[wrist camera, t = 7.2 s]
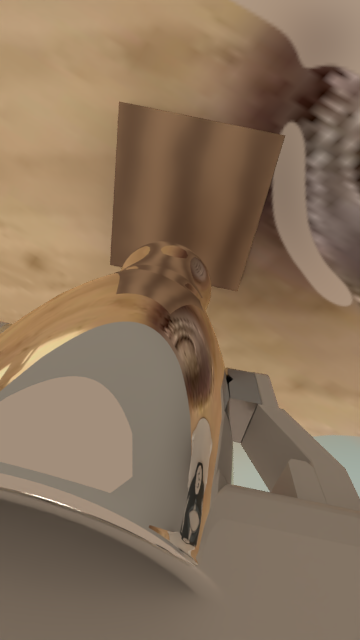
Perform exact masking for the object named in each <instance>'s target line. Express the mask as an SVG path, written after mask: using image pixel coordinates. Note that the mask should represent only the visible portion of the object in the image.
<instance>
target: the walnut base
mask: <svg viewBox="0 0 360 640" xmlns="http://www.w3.org/2000/svg"><path fill="white" fill-rule="evenodd" d="M284 138H285V136H284V135H280V134H275V133H270V132H265V131H260V130H255V129H250V128H245V127H241V126H236V125H231V124H226V123H221V122H216V121H211V120H206V119H201V118H197V117H192V116H187V115H182V114H177V113H172V112H167V111H162V110H158V109H153V108H148V107H143V106H138V105H133V104H128V103H123V102H119V114H118V132H117V150H116V168H115V186H114V204H113V222H112V241H111V259H110V265H114V266H119V267H122V266H123V264H124V262H125V261H126V259H127V258H128V257H129V256H130V255H131V254H132V253H133V252H134V251H135V250H137V249H138V248H140V247H141V246H143V245H146V244H148V243H152V242H158V241H167V242H173V243H177V244H180V245H182V246H184V247H186V248H188V249H190V250H191V251H192V252H194V253H195V254H196V255H197V256H198V257H199V258H200V259H201V260H202V262H203V263H204V264H205V266H206V268H207V270H208V273H209V275H210V279H211V286H214V287H219V288H224V289H229V290H233V291H238V288H239V285H240V281H241V278H242V275H243V272H244V268H245V265H246V262H247V259H248V255H249V252H250V249H251V246H252V242H253V239H254V236H255V233H256V229H257V226H258V223H259V219H260V216H261V213H262V210H263V206H264V203H265V200H266V197H267V193H268V190H269V187H270V184H271V180H272V177H273V174H274V171H275V167H276V164H277V161H278V158H279V154H280V151H281V148H282V144H283V141H284Z"/></svg>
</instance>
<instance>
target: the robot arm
mask: <svg viewBox="0 0 360 640" xmlns="http://www.w3.org/2000/svg"><path fill="white" fill-rule="evenodd" d="M11 325H12V324H9V323H6V322H1V321H0V333H2V332H3V331H4V330H6V329H7V328H8V327H10V326H11ZM225 370H226V377H227V384H228V390H229V397H230V405H231V421H232V438H233V441H234V442H238V443H241V445H242V447H243V449H244V450H245V452H246V453H247V455H248V457H249V458H250V460H251V462H252V463H253V465H254V466H255V468H256V470H257V471H258V473H259V474H260V476H261V478H262V479H263V481H264V483H265V484H266V486H267V487H268V489H269V490H270V492H265V491H260V490H256V489H250V488H246V487H241V486H236V485H231V484H228V485H227V487H226V492H225V500H224V508H223V516H222V579H223V587H224V592H225V595H224V598H223V600H222V601H220V602H210V601H206V600H204V599H202V598H200V597H198V596H197V595H195V594H194V592H193V591H192V590H191V589H190V588H188V587H187V586H186V585H185V584H184V583H183V582H182V581H181V580H179V579H178V578H177V577H176V576H174V575H173V574H172V573H170V572H169V571H168V570H166V569H165V568H163V567H162V566H160V565H159V564H157V563H156V562H154V561H153V560H151V559H149V558H148V557H146V556H145V555H143V554H141V553H139V552H137V551H136V550H134V549H132V548H130V547H128V546H126V545H124V544H123V543H121V542H118V541H116V540H114V539H112V538H110V537H108V536H106V535H104V534H101V533H99V532H97V531H95V530H92V529H90V528H88V527H85V526H83V525H80V524H78V523H75V522H72V521H70V520H67V519H64V518H61V517H58V516H55V515H52V514H49V513H46V512H43V511H40V510H37V509H33V508H30V507H26V506H23V505H19V504H15V503H11V502H7V501H3V500H0V640H360V499H359V496H358V494H357V492H356V490H355V488H354V486H353V484H352V482H351V479H350V477H349V475H348V473H347V471H346V469H345V468H344V467H343V466H342V465H341V464H340V463H339V462H338V461H337V460H336V459H335V458H334V457H333V456H332V455H331V454H330V453H328V452H327V451H326V450H325V449H324V448H323V447H322V446H321V445H320V444H319V443H318V442H317V441H316V440H315V439H314V438H313V437H312V436H311V435H310V434H309V433H308V432H307V431H306V430H305V429H303V428H302V427H301V426H300V425H299V424H298V423H297V422H296V421H295V420H294V419H293V418H292V417H291V416H290V415H289V414H288V413H287V412H286V411H285V410H284V409H280V408H279V406H278V403H277V400H276V397H275V394H274V390H273V387H272V384H271V381H270V378H269V376H268V375H266V374H260V373H254V372H253V373H252V372H247V371H242V370H236V369H231V368H225Z"/></svg>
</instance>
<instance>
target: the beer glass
mask: <svg viewBox="0 0 360 640" xmlns="http://www.w3.org/2000/svg"><path fill="white" fill-rule="evenodd" d="M210 298H211V279H210V275H209V273H208V270H207V268H206V266H205V264H204V263H203V262H202V260H201V259H200V258H199V257H198V256H197V255H196V254H195V253H194V252H192V251H191V250H190V249H188V248H186V247H184V246H182V245H180V244H177V243H173V242H167V241H158V242H152V243H148V244H146V245H143V246H141V247H140V248H138V249H137V250H135V251H134V252H133V253H132V254H131V255H130V256H129V257H128V258H127V259H126V261H125V262H124V264H123V266H122V268H121V270H120V272H116V273H113V274H109V275H106V276H103V277H100V278H97V279H94V280H91V281H89V282H86V283H84V284H82V285H79V286H77V287H75V288H72V289H70V290H68V291H65V292H63V293H61V294H59V295H57V296H56V297H54V298H53V299H51V300H49V301H48V302H46V303H44V304H43V305H41V306H39V307H38V308H36V309H34V310H33V311H31V312H30V313H28V314H26V315H25V316H23V317H22V318H21V319H19V320H18V321H17V322H15V323H14V324H12V325H11V326H10V327H8V328H7V329H6V330H4V331H3V332H2V333H0V500H3V501H7V502H11V503H15V504H19V505H23V506H26V507H30V508H33V509H37V510H40V511H43V512H46V513H49V514H52V515H55V516H58V517H61V518H64V519H67V520H70V521H72V522H75V523H78V524H80V525H83V526H85V527H88V528H90V529H92V530H95V531H97V532H99V533H101V534H104V535H106V536H108V537H110V538H112V539H114V540H116V541H118V542H121V543H123V544H124V545H126V546H128V547H130V548H132V549H134V550H136V551H137V552H139V553H141V554H143V555H145V556H146V557H148V558H149V559H151V560H153V561H154V562H156V563H157V564H159V565H160V566H162V567H163V568H165V569H166V570H168V571H169V572H170V573H172V574H173V575H174V576H176V577H177V578H178V579H179V580H181V581H182V582H183V583H184V584H185V585H186V586H187V587H188V588H190V589H191V590H192V591H193V592H194V594H195V595H197V596H198V597H200V598H202V599H204V600H206V601H210V602H220V601H222V600H223V598H224V595H225V592H224V587H223V579H222V516H223V508H224V500H225V492H226V487H227V485H228V484H231V485H233V438H232V421H231V405H230V397H229V390H228V384H227V377H226V370H225V365H224V361H223V358H222V354H221V351H220V347H219V344H218V341H217V338H216V335H215V332H214V330H213V327H212V325H211V322H210V320H209V317H208V315H207V313H206V309H207V307H208V304H209V302H210Z"/></svg>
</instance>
